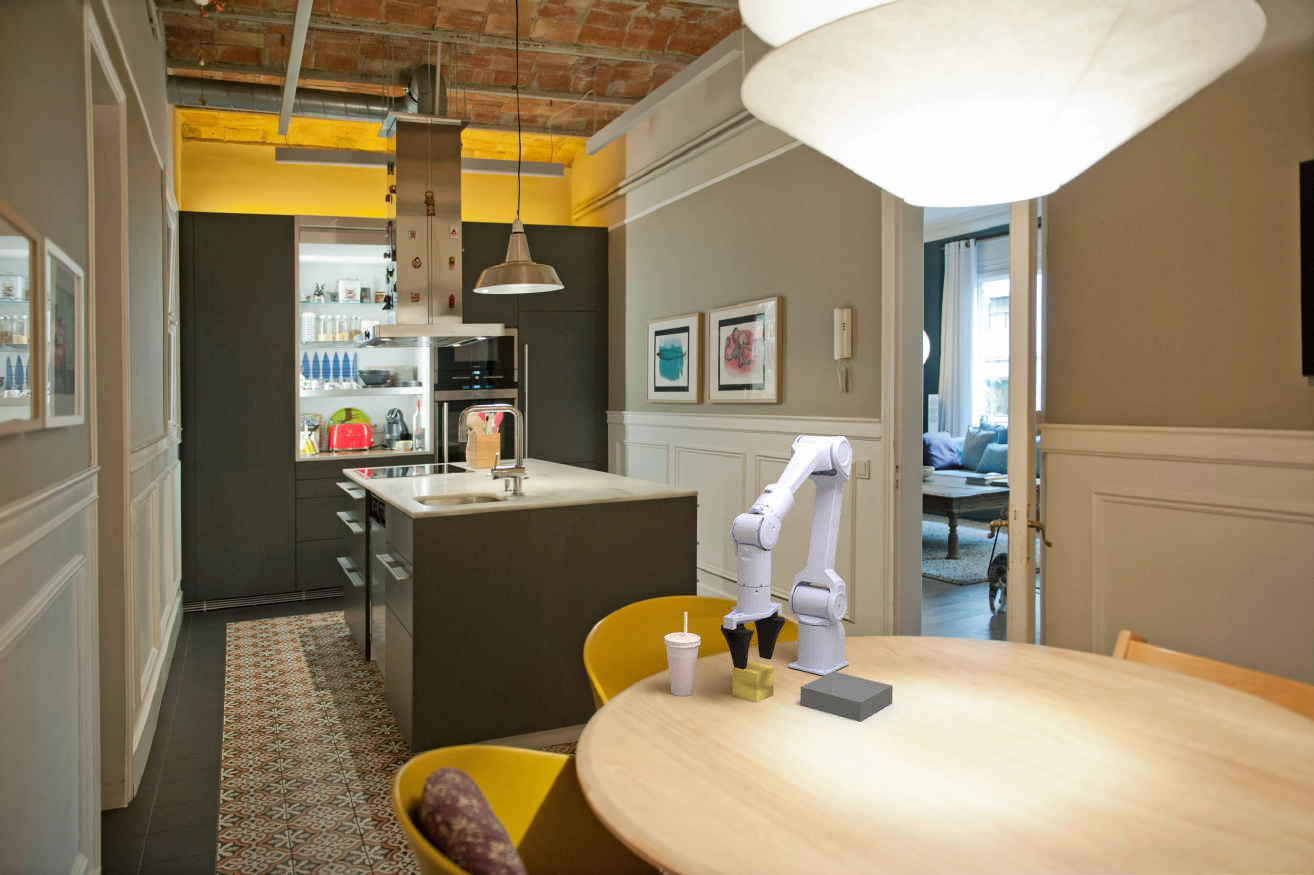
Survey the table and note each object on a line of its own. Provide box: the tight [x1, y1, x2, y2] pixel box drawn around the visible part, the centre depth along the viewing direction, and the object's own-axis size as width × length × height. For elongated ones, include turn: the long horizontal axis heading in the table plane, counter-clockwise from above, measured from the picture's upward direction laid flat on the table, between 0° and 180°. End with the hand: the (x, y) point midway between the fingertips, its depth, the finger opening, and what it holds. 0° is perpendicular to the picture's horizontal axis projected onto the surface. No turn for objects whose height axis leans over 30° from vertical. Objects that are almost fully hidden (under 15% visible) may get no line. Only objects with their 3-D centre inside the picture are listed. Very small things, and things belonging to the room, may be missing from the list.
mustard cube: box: [732, 660, 775, 704], centre depth 143 cm, size 5×5×5 cm
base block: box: [799, 671, 894, 723], centre depth 139 cm, size 11×11×4 cm
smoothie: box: [663, 611, 702, 697], centre depth 144 cm, size 6×6×14 cm
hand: (753, 663), depth 143 cm, fingers open, 7 cm apart
